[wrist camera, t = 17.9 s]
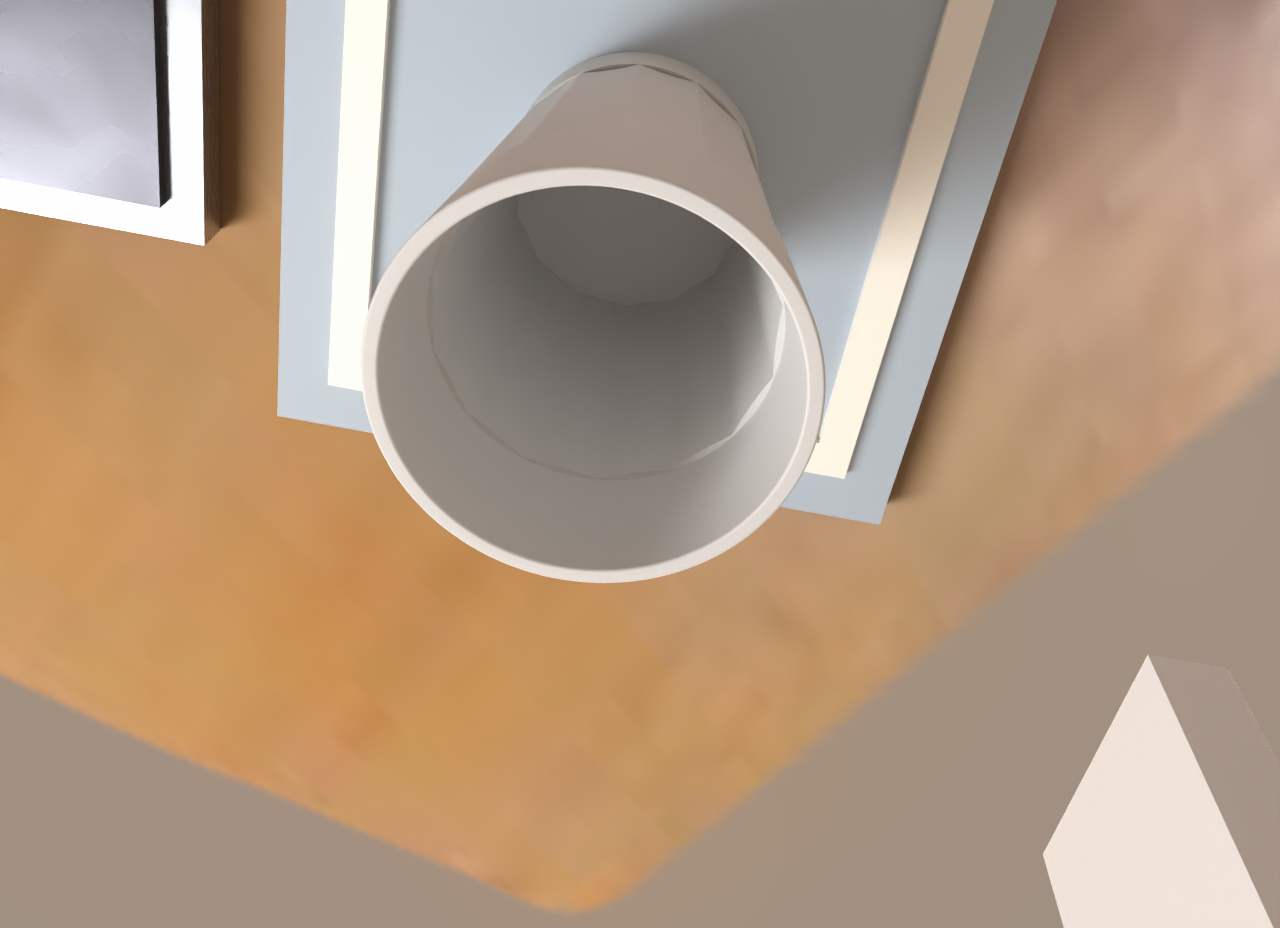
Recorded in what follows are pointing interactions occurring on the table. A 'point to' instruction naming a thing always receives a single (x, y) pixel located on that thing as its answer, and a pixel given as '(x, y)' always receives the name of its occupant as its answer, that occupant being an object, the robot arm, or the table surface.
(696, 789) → the table surface
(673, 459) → the cup
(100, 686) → the table surface
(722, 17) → the board
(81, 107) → the ink pad
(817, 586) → the table surface
